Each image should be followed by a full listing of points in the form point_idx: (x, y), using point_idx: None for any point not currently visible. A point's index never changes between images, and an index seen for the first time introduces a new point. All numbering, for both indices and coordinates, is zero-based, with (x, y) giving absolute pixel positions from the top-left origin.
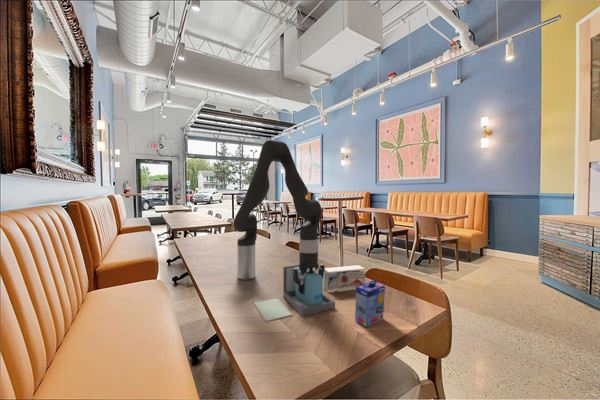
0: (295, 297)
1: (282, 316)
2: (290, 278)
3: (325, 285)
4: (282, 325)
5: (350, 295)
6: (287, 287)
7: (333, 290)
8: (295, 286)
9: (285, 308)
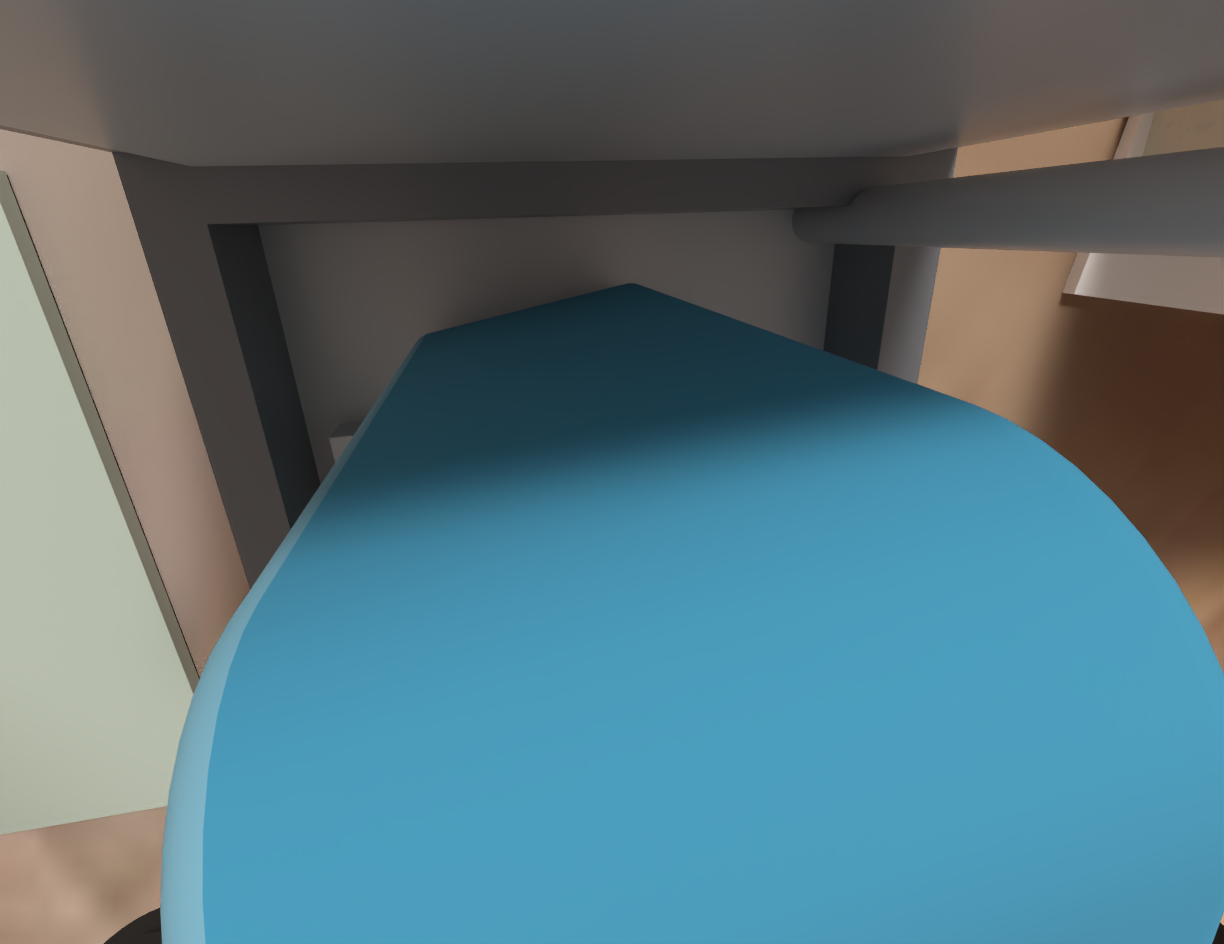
0: (440, 285)
1: (72, 816)
2: (110, 90)
3: (1222, 107)
4: (70, 929)
5: (1194, 493)
6: (159, 152)
7: (1175, 273)
8: (386, 388)
9: (146, 638)
